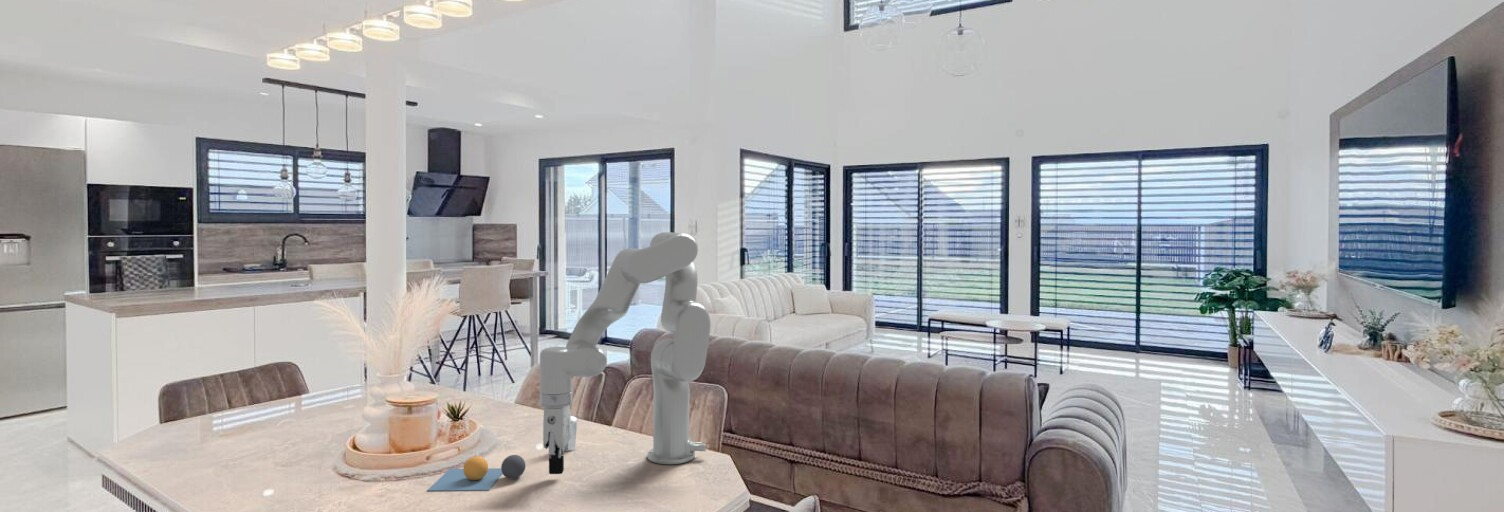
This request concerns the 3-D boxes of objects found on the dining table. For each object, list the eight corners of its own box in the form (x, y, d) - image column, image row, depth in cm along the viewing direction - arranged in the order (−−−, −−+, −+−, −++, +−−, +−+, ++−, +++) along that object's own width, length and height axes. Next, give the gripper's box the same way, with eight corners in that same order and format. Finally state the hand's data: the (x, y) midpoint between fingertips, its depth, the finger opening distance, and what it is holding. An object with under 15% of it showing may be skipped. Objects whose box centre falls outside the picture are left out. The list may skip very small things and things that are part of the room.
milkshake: (575, 452, 190) (575, 416, 190) (557, 451, 191) (557, 415, 191) (583, 447, 195) (583, 411, 194) (565, 446, 196) (565, 410, 195)
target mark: (506, 469, 177) (506, 468, 177) (488, 490, 163) (488, 489, 163) (449, 469, 176) (449, 468, 176) (427, 491, 162) (427, 490, 162)
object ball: (463, 459, 172) (474, 479, 173) (455, 467, 167) (467, 488, 167) (484, 449, 172) (495, 468, 173) (476, 456, 167) (488, 477, 167)
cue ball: (513, 478, 174) (532, 469, 173) (502, 485, 168) (523, 476, 168) (504, 457, 174) (523, 448, 174) (493, 464, 169) (513, 455, 168)
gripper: (565, 406, 163) (565, 484, 164) (577, 390, 178) (577, 462, 179) (532, 406, 162) (532, 484, 163) (547, 391, 177) (547, 462, 178)
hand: (556, 472), depth 171 cm, fingers closed
